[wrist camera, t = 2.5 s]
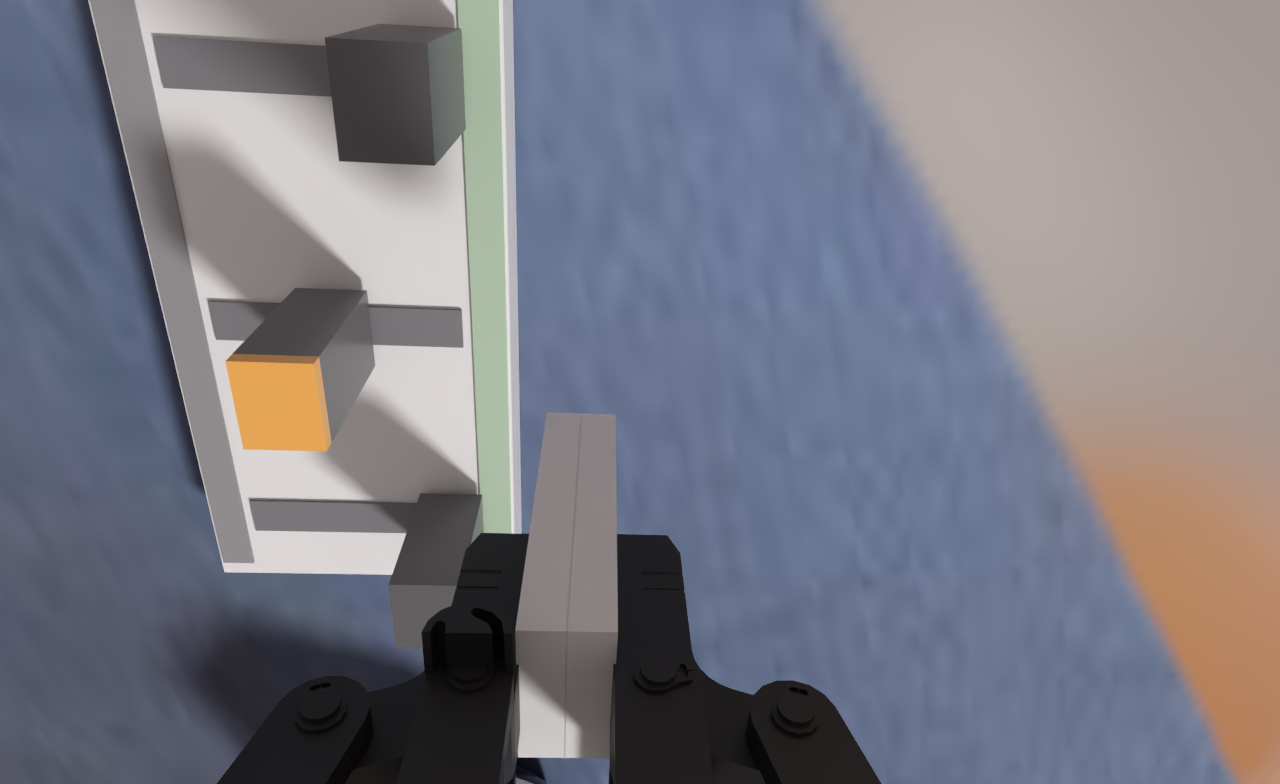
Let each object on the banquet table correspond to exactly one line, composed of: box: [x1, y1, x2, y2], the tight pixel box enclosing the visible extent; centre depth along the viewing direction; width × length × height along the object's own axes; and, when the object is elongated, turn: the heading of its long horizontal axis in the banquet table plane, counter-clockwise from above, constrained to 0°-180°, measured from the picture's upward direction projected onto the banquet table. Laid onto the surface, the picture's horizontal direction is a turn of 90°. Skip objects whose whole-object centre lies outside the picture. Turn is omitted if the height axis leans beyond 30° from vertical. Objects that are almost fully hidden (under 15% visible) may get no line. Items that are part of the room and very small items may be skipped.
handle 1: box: [325, 24, 466, 166], centre depth 18 cm, size 2×2×4 cm
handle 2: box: [389, 493, 484, 648], centre depth 25 cm, size 2×2×4 cm
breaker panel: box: [88, 0, 522, 575], centre depth 25 cm, size 19×10×3 cm, turn 177°
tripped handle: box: [225, 288, 375, 451], centre depth 21 cm, size 2×2×5 cm
